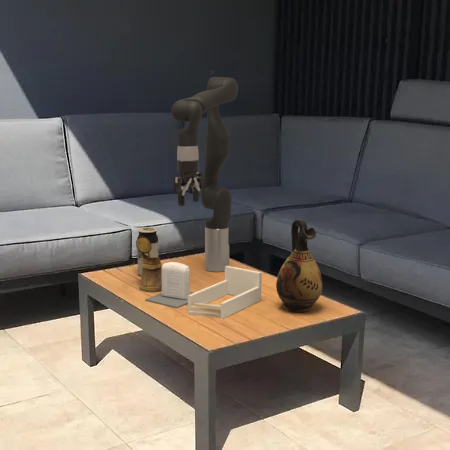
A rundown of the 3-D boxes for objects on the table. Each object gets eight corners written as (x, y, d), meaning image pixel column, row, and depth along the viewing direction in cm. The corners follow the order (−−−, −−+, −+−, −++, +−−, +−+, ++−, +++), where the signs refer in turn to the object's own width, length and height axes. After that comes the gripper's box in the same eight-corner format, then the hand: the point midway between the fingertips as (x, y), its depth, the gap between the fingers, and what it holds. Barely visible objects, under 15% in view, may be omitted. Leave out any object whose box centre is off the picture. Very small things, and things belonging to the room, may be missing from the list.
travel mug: (154, 270, 284) (154, 226, 280) (161, 276, 277) (160, 230, 273) (135, 272, 281) (134, 228, 277) (141, 278, 274) (140, 232, 270)
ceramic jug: (330, 312, 238) (333, 223, 231) (288, 317, 232) (291, 227, 225) (305, 297, 253) (308, 213, 247) (265, 302, 247) (267, 217, 241)
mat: (174, 289, 261) (174, 287, 260) (205, 296, 253) (205, 294, 253) (145, 300, 248) (145, 299, 248) (177, 308, 240) (177, 306, 240)
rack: (226, 292, 257) (227, 265, 255) (261, 300, 249) (261, 272, 247) (188, 309, 239) (187, 280, 237) (223, 318, 231) (223, 288, 229)
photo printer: (191, 297, 250) (191, 262, 248) (186, 300, 246) (186, 265, 244) (165, 293, 254) (165, 259, 252) (159, 296, 250) (159, 262, 248)
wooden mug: (152, 280, 271) (151, 234, 267) (169, 289, 260) (168, 241, 256) (130, 284, 266) (129, 237, 262) (147, 293, 255) (146, 244, 251)
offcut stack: (192, 311, 239) (192, 302, 238) (224, 313, 236) (224, 305, 236) (188, 316, 234) (188, 307, 233) (220, 318, 231) (220, 310, 231)
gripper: (191, 155, 260) (192, 199, 264) (166, 160, 248) (168, 205, 252) (208, 156, 256) (208, 201, 260) (184, 161, 244) (185, 208, 248)
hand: (188, 203), depth 256 cm, fingers open, 8 cm apart
